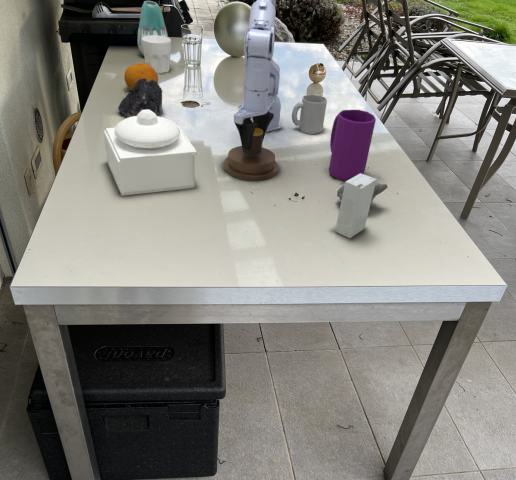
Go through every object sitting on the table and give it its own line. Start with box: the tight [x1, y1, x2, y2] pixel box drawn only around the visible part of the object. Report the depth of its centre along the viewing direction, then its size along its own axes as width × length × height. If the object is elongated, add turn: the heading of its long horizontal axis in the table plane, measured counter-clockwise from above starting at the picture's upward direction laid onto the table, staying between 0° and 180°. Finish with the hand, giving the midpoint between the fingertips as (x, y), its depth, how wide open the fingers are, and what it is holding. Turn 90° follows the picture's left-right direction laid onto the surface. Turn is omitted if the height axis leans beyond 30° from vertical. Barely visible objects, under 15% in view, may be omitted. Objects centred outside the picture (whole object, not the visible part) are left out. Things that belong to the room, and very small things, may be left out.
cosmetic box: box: [334, 173, 377, 239], centre depth 114 cm, size 6×4×12 cm
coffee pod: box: [242, 127, 264, 155], centre depth 133 cm, size 5×5×5 cm
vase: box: [136, 0, 169, 57], centre depth 197 cm, size 12×12×18 cm
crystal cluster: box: [117, 78, 163, 118], centre depth 157 cm, size 13×14×10 cm
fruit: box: [123, 62, 159, 90], centre depth 172 cm, size 10×10×8 cm
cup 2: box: [291, 94, 328, 135], centre depth 157 cm, size 7×10×9 cm
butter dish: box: [103, 109, 198, 197], centre depth 125 cm, size 18×18×16 cm
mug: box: [328, 109, 377, 182], centre depth 136 cm, size 9×16×15 cm, turn 18°
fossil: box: [336, 182, 388, 204], centre depth 124 cm, size 11×9×8 cm
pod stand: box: [223, 145, 279, 182], centre depth 136 cm, size 14×14×4 cm
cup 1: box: [142, 35, 172, 74], centre depth 188 cm, size 10×10×10 cm
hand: (252, 145), depth 133 cm, fingers closed on coffee pod, 5 cm apart
